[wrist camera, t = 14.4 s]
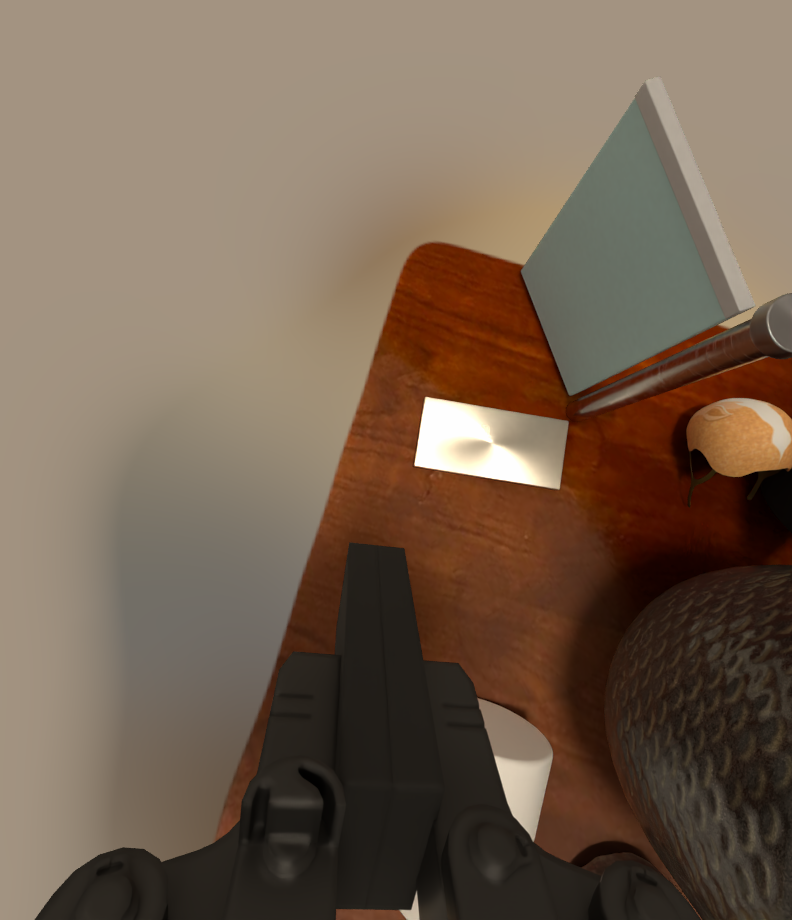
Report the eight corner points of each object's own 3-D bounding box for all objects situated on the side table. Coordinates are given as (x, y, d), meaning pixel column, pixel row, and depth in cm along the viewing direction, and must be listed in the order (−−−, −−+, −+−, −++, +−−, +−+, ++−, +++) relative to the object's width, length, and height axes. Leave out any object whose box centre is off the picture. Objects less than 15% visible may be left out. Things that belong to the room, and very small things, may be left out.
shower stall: (412, 466, 34) (457, 437, 16) (428, 371, 35) (487, 235, 16) (579, 494, 34) (811, 495, 16) (592, 399, 35) (830, 298, 17)
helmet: (721, 471, 38) (757, 378, 33) (789, 525, 32) (842, 421, 28) (652, 478, 37) (678, 385, 33) (707, 534, 32) (748, 431, 27)
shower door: (519, 271, 35) (644, 80, 19) (551, 260, 35) (703, 61, 19) (568, 396, 34) (740, 311, 18) (600, 385, 35) (799, 290, 18)
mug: (528, 709, 33) (577, 777, 25) (494, 855, 32) (534, 973, 24) (363, 667, 33) (360, 723, 25) (325, 813, 32) (309, 919, 24)
